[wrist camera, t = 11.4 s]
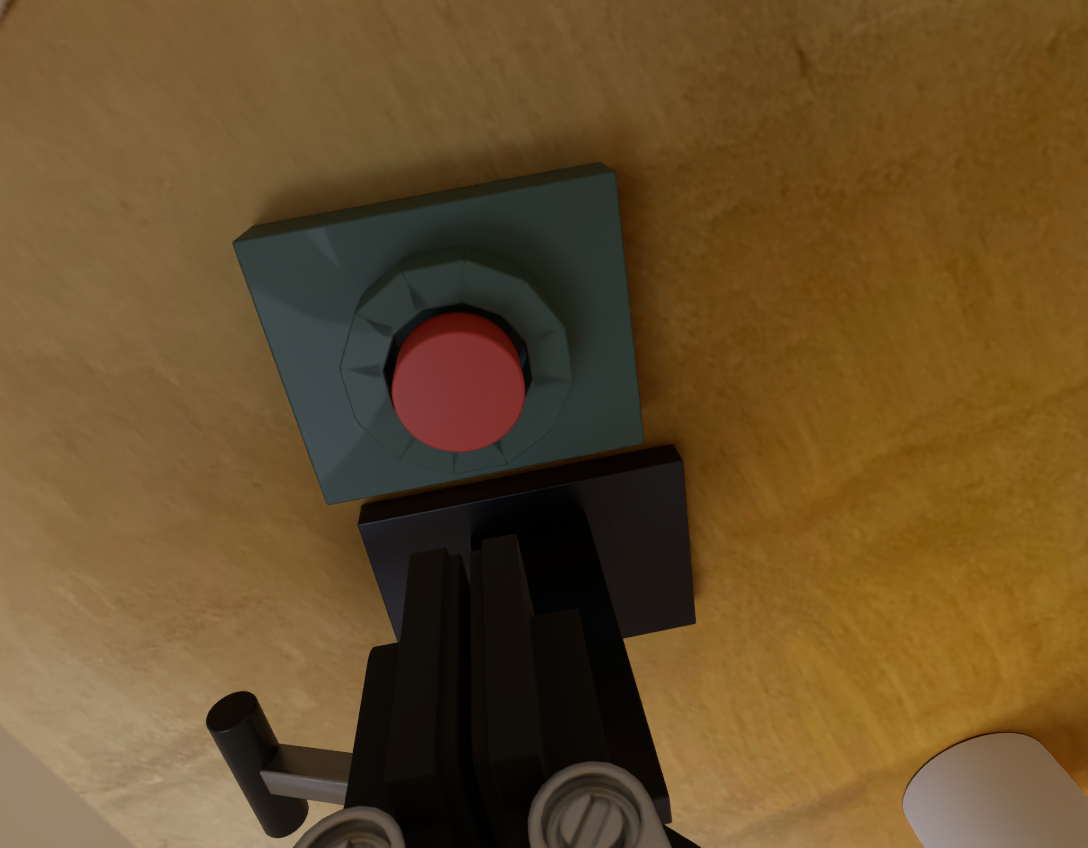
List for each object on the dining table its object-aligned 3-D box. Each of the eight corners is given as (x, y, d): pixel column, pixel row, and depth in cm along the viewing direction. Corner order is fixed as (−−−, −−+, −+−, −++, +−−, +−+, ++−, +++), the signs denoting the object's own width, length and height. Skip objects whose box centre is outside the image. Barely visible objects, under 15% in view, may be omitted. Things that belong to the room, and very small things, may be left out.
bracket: (412, 658, 30) (387, 1014, 19) (361, 504, 27) (291, 831, 15) (687, 603, 31) (824, 920, 19) (673, 443, 27) (833, 717, 16)
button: (413, 435, 22) (410, 464, 20) (381, 324, 20) (375, 345, 18) (529, 412, 22) (535, 439, 20) (508, 300, 20) (512, 319, 18)
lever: (288, 780, 24) (245, 850, 22) (235, 675, 22) (183, 742, 20) (644, 833, 21) (633, 922, 19) (626, 714, 18) (611, 801, 16)
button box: (336, 473, 26) (317, 538, 22) (250, 226, 22) (210, 256, 18) (630, 415, 26) (658, 470, 23) (601, 161, 22) (630, 179, 18)
